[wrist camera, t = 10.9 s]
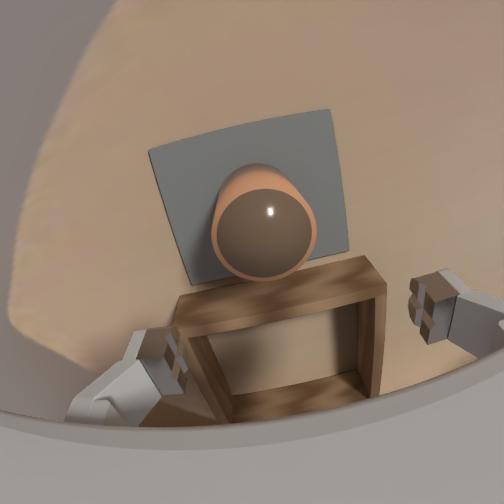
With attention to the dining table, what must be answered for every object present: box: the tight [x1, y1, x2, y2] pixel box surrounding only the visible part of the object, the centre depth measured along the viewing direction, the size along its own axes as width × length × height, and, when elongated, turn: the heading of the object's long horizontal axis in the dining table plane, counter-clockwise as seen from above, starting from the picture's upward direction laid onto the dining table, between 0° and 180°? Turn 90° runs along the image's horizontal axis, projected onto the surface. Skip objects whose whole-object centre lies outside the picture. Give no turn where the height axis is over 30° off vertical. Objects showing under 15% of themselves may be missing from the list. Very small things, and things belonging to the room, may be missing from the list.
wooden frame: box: [172, 255, 387, 425], centre depth 28 cm, size 17×16×5 cm
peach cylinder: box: [211, 163, 317, 282], centre depth 21 cm, size 6×6×7 cm
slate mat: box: [148, 109, 349, 285], centre depth 24 cm, size 14×12×1 cm
